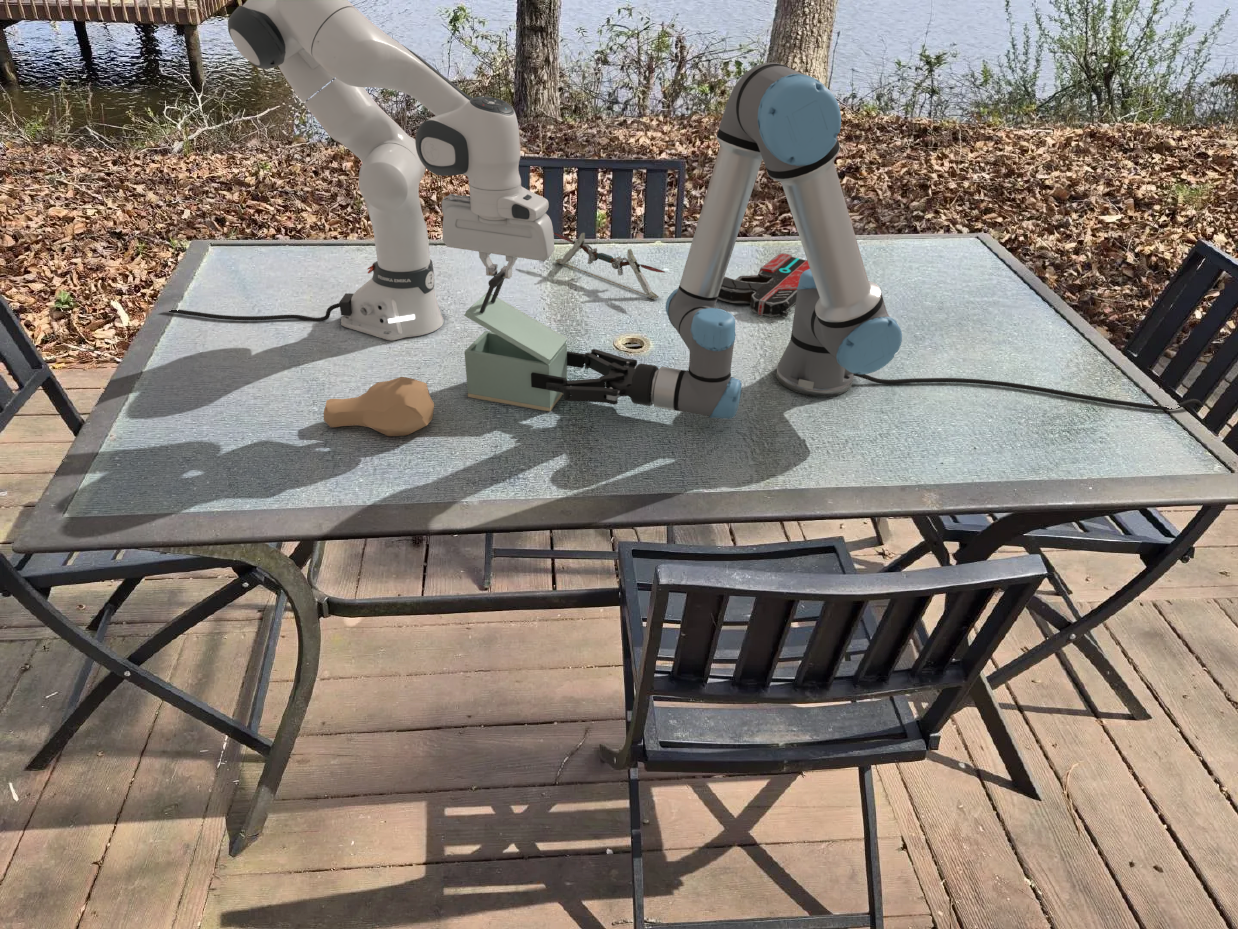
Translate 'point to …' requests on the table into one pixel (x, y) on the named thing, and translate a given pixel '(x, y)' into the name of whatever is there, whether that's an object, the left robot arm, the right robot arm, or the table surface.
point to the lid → (515, 324)
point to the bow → (616, 262)
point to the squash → (385, 408)
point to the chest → (510, 373)
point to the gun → (767, 286)
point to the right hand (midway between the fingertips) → (541, 367)
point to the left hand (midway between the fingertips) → (499, 276)
